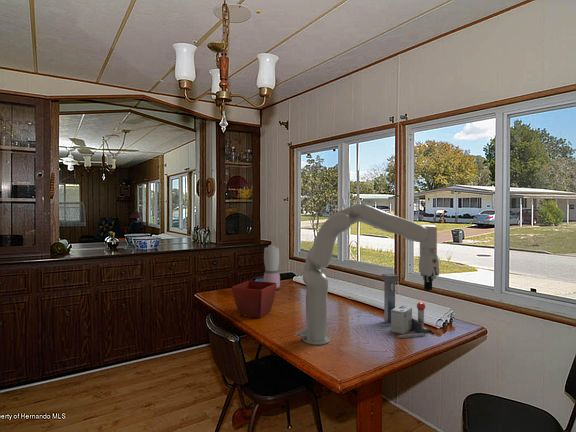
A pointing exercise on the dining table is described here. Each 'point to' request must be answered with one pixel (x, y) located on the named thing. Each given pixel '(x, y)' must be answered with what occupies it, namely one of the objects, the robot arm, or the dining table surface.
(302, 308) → the dining table surface
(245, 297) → the plant pot
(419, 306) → the lever
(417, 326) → the press frame
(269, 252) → the blender
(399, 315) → the light bulb box
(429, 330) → the lever track
